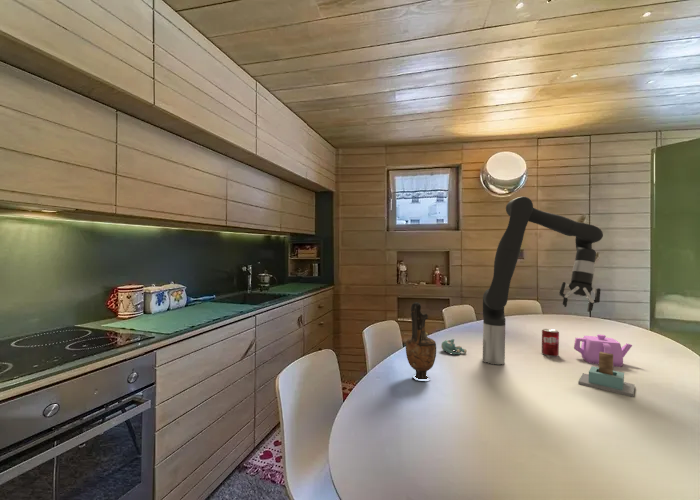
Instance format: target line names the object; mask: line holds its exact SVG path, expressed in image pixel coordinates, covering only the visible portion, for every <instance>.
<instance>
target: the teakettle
mask: <svg viewBox="0 0 700 500" xmlns="http://www.w3.org/2000/svg"><path fill="white" fill-rule="evenodd" d="M632 347H633V345H632V344H630V343H626V344H624V345H623V346H622V345H621V343H620V342H619V341H618V340H616V339H615V338H612V337H607V336H606V335H605V334H600V333H599V334H598V333H597V334H596V336H594V335H583V337H575V340H574V346H573V349H574V350H575V351H577V352H578V353H580V354H581V357H582V358H583V360H584V361H586V363H589V364H595V365H599V353H600V352H604V353H610V354H613V367H620V368H621V367H623V364H624V357H625V356H626V355H627V353H628V352H629V351H630V350H631V348H632Z"/></svg>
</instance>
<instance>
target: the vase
mask: <svg viewBox="0 0 700 500" xmlns="http://www.w3.org/2000/svg"><path fill="white" fill-rule="evenodd" d="M421 308H422V305H421V302H417V301H416V302H413V303H412V304H411V307H410V312H411V313H410V317H411V337H409V338H408V339H407V340H406V342H405V354H406V358H407V363H408V364H409V366H410V367H411V368H412V369H413V370H414V371H415V374H416V376H415V377H416V378H418V379H427V378H428V377H427V376H428V375H427V373H428V371H429V370H431V369H432V368H433V366H434V364H435V362H436V356H437V343H436V341H435V340H434V339H433V338H430V337H429V336H427V333H426V320H428V319H429V315H428V314H427V313H422V312H421ZM426 375H427V376H426Z"/></svg>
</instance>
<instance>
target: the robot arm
mask: <svg viewBox="0 0 700 500" xmlns="http://www.w3.org/2000/svg"><path fill="white" fill-rule="evenodd" d="M505 212H506V214H507V215H508V216H509V220H508V223H507V227H506V229H505V231H504V233H503V235H502V237H501V239H499V240H500V241H499V242H498V245H497V248H496V252H495V256H494V263H493V277H492V281H491V283H490V286H489V288H487V289H486V290H485V291H484V293H483V295H482V318H483V321H482V323H483V325H482V326H483V327H482V328H483V329H482V330H483V332H482V333H483V334H482V362H483V361H485V362H484V363H486V362H488V363H487V364H489V363H491V364H490V365H494V364H502V365H504V364H505V363H506V361H505V360H506V356H505V355H506V315H505V306H507V303H508V298H509V291H510V286H511V281H512V279H513V275H514V274H515V270H516V267H517V264H518V260H519V256H520V253H521V249H522V245H523V241H524V240H523V239H524V237H525V232H526V228H527V226H528V223H532V224H536V225H539V226H541V227H544V228H547V229H550V230H551V231H554V232H557V233H559V234H561V235H565V236H567V237H575V239H574V241H575V249H576V253H575V258H574V264H573V267H572V269H571V270H572V273H571V278H570V279H571V280H570V283H567V282H566V281H564V282H562V283H561V285H560V289H559V293H558V295H559V296H561V297H562V306H563V308H567V306H568V300H569V298H568V297H570V296H571V295H575V296H580V297H585V298H586V299H587V301H588V303H587V311H586V312H589V313H590V312H592V311H593V310H594V309H593V308H594V304H596V303H597V304H598V303H600V301H601V290H602V289H601V288H599V287H598V288H597V287H596V288H595V287H593V279H594V272H595V263H596V256H597V252H596V250H595V249H593V244H594V243H599V242H600V241H601V240H602V239H603V237H604V232H603V231H602V229H601V228H599V227H598V226H596V225H593V224H588V223H585V222H579V221H576V220H574V219H570V218H568V217H565V216H563V215H560V214H555V213H552V212H547V211H543V210H540V209H537V208H535V207H534V204H533V201H532V199H530V198H529V197H527V196H519V197H516V198H513V199H511V200H510V201H508V202H507V204H506V206H505ZM567 287H568V288H569V289H570V290H569V291H567V292H566V294H565V293H564V291H565V289H566V288H567ZM592 291H593V293H594V298H593V296H592V295H591V292H592Z"/></svg>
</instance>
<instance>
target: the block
mask: <svg viewBox="0 0 700 500" xmlns="http://www.w3.org/2000/svg"><path fill="white" fill-rule="evenodd" d="M598 368H599V372H600V373H604V374H609V375H613V371H614V366H613V354H610V353H604V352H600V353H599V364H598Z"/></svg>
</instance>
